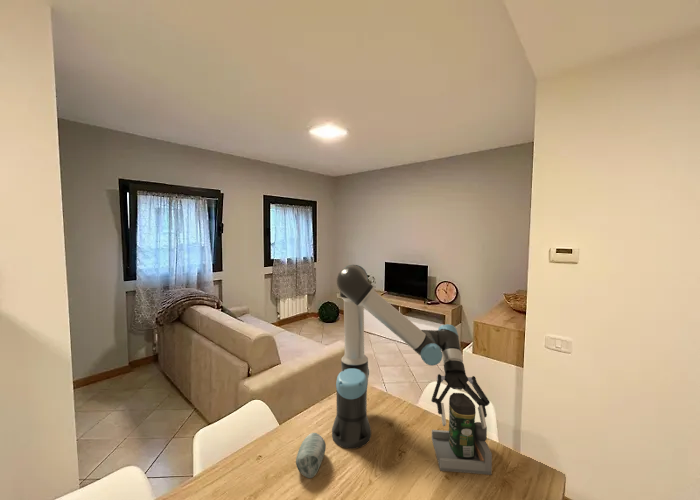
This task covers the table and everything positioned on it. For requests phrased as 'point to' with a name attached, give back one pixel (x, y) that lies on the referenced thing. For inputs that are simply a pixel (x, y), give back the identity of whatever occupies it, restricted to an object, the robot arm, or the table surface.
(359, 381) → the robot arm
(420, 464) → the table surface
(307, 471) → the spool
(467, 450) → the coffee jar
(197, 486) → the table surface
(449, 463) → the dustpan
